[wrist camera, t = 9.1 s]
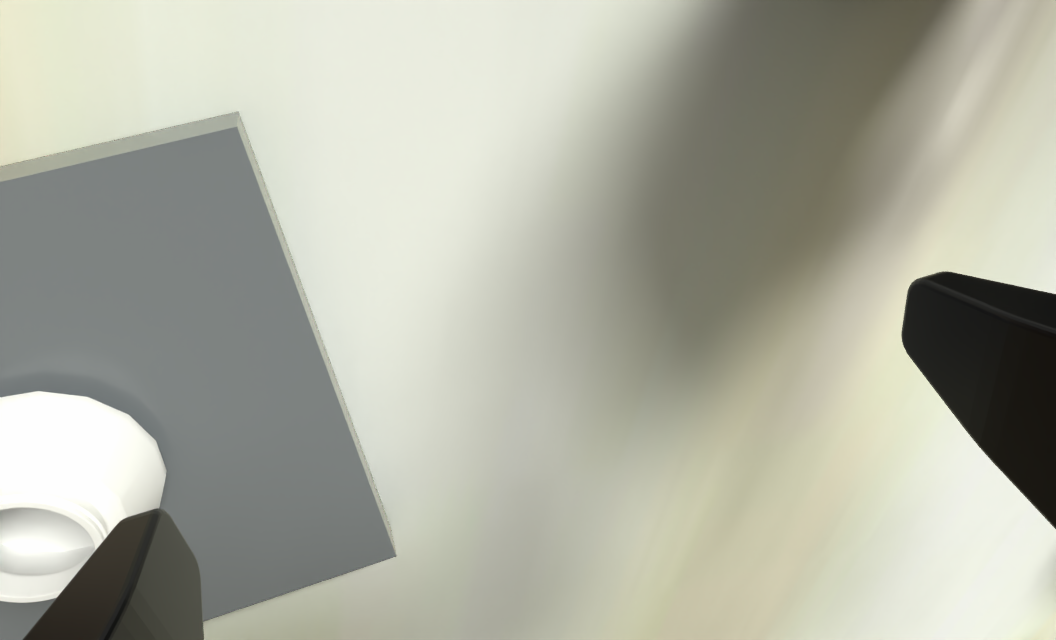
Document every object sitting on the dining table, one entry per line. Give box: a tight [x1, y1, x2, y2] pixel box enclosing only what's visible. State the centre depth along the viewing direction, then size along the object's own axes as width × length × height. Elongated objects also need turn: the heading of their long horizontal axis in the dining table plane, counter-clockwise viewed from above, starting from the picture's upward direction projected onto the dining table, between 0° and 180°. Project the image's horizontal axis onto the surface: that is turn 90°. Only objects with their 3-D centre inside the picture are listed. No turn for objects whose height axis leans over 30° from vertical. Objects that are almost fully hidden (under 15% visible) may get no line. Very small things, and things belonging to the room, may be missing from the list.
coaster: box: [0, 112, 396, 640], centre depth 19 cm, size 14×14×1 cm
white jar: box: [0, 391, 167, 603], centre depth 18 cm, size 5×3×5 cm
